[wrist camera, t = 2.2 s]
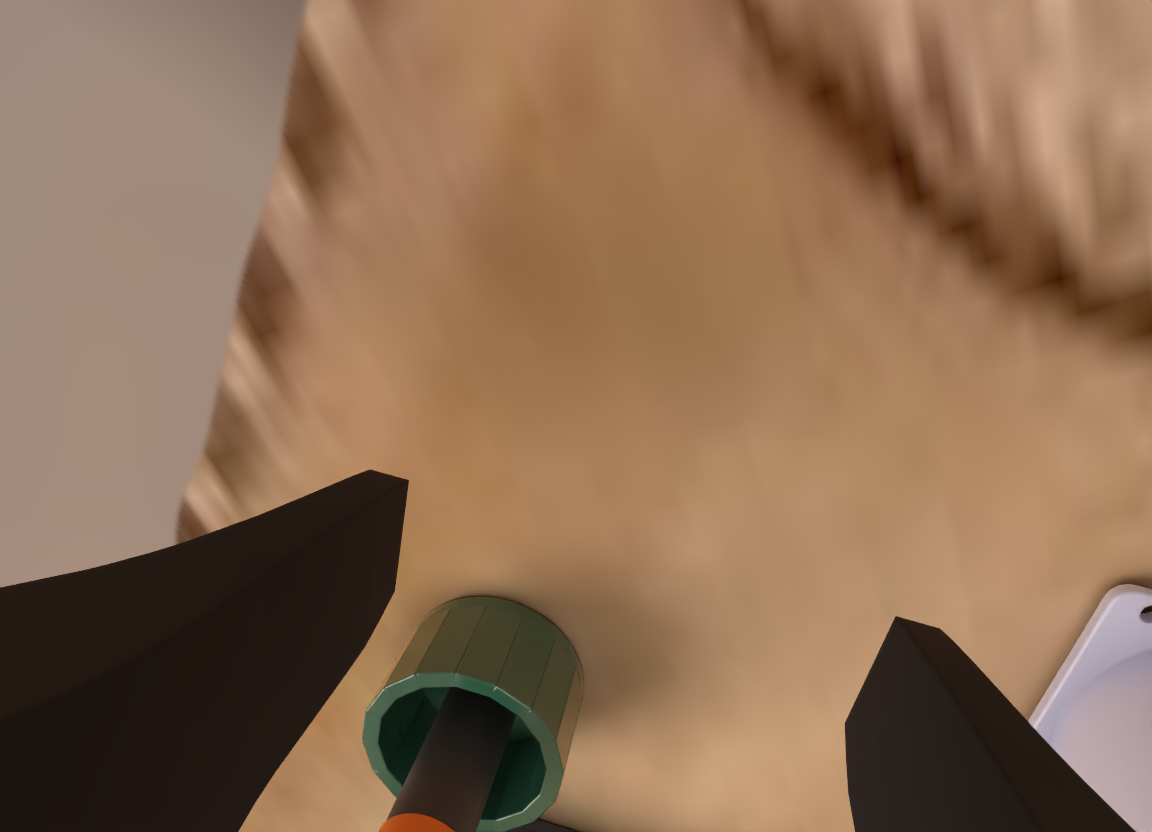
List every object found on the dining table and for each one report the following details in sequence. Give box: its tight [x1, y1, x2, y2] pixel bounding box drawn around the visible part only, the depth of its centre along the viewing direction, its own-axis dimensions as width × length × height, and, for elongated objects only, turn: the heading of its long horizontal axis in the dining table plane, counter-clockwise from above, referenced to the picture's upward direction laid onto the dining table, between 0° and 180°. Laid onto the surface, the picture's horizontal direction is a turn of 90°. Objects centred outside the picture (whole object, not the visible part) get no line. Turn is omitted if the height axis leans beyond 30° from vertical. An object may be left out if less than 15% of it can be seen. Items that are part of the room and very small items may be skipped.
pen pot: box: [362, 596, 584, 832], centre depth 23 cm, size 6×6×4 cm
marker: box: [379, 687, 516, 832], centre depth 21 cm, size 2×2×7 cm
